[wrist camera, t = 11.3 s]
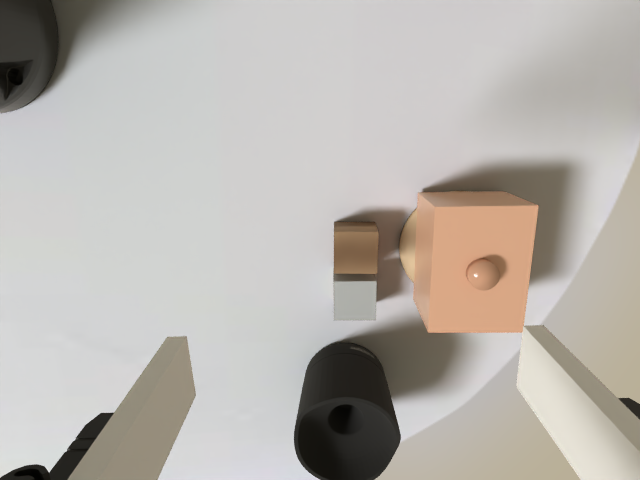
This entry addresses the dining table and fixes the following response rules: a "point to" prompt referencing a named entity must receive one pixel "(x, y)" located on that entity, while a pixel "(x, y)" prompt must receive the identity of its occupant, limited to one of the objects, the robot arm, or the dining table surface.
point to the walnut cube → (355, 248)
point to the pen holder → (345, 416)
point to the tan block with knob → (473, 260)
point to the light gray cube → (354, 296)
